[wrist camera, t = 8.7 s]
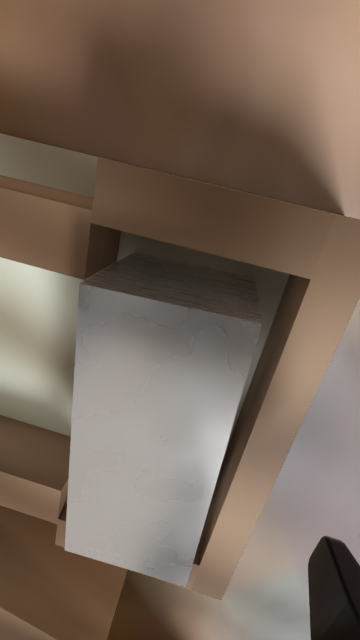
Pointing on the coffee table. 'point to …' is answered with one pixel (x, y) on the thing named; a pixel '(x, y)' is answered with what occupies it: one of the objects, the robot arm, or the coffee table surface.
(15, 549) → the long tan block
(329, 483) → the coffee table surface
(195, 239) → the jig
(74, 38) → the coffee table surface
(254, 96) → the coffee table surface
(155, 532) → the white rectangular block
